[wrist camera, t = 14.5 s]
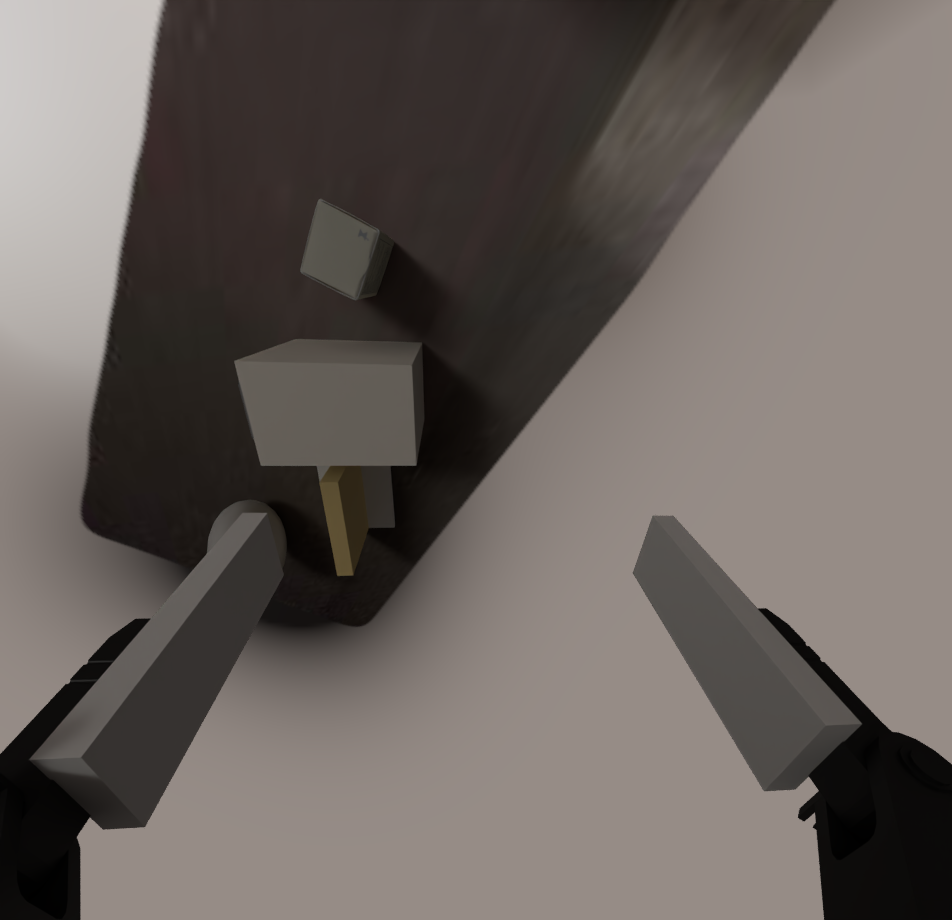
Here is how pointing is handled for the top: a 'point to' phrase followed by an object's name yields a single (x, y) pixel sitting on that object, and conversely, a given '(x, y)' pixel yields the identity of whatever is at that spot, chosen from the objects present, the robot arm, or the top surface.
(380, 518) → the mat
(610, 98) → the top surface
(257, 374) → the large beige block
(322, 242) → the small box
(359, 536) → the yellow rectangular slab
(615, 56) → the top surface
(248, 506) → the donut
